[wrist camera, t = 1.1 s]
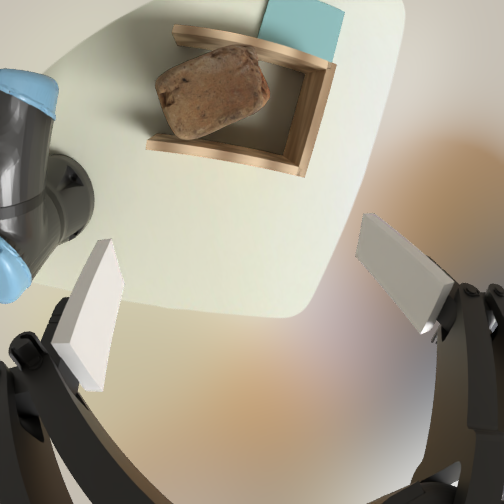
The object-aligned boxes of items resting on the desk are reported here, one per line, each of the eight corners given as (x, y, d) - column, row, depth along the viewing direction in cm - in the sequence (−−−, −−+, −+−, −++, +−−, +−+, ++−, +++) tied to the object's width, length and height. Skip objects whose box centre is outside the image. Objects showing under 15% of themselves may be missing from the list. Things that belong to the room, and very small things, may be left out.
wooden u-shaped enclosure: (156, 141, 37) (145, 149, 30) (179, 38, 29) (174, 24, 23) (287, 164, 42) (304, 177, 35) (314, 69, 35) (336, 64, 28)
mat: (254, 46, 32) (255, 46, 31) (273, -13, 26) (274, -15, 26) (328, 70, 35) (329, 70, 34) (343, 12, 29) (344, 12, 29)
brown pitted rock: (188, 131, 37) (175, 155, 20) (169, 88, 33) (138, 74, 16) (257, 104, 37) (301, 106, 20) (239, 60, 33) (270, 25, 16)
